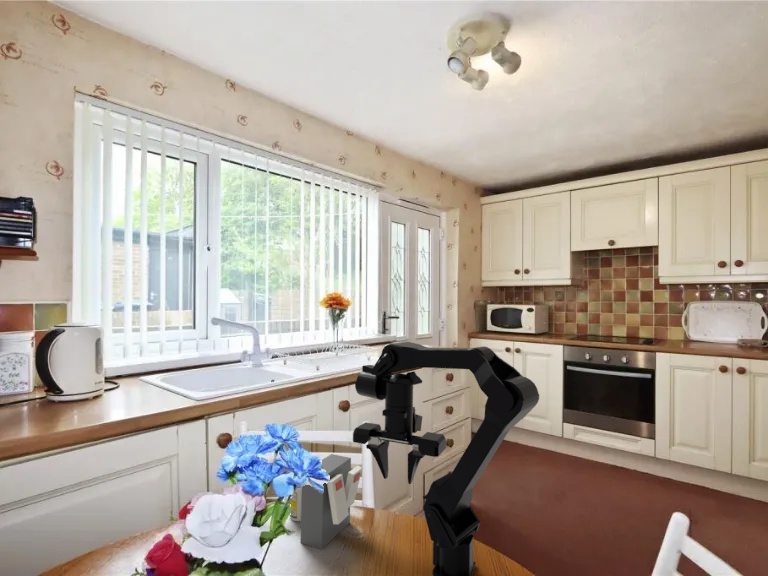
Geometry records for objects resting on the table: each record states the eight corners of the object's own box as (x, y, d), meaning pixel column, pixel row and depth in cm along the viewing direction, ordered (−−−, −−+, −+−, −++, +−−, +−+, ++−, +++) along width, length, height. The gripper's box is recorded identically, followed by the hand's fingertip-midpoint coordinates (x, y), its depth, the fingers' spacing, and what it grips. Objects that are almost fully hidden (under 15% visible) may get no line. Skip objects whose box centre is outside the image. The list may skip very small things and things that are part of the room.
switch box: (349, 522, 90) (350, 457, 91) (321, 549, 80) (323, 476, 81) (330, 517, 93) (331, 454, 93) (300, 542, 83) (302, 472, 83)
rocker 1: (349, 514, 83) (343, 474, 84) (339, 524, 80) (333, 481, 81) (343, 514, 84) (337, 474, 85) (333, 524, 80) (326, 481, 81)
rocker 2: (355, 503, 89) (363, 468, 89) (345, 511, 85) (354, 475, 85) (349, 500, 90) (357, 465, 89) (339, 508, 86) (348, 472, 86)
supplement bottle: (316, 510, 95) (317, 467, 96) (310, 523, 90) (311, 477, 90) (293, 509, 96) (294, 466, 96) (286, 521, 90) (287, 476, 91)
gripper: (453, 400, 88) (453, 474, 88) (375, 391, 96) (374, 459, 96) (438, 413, 78) (437, 496, 78) (352, 401, 86) (350, 477, 85)
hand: (397, 480), depth 84 cm, fingers open, 5 cm apart
